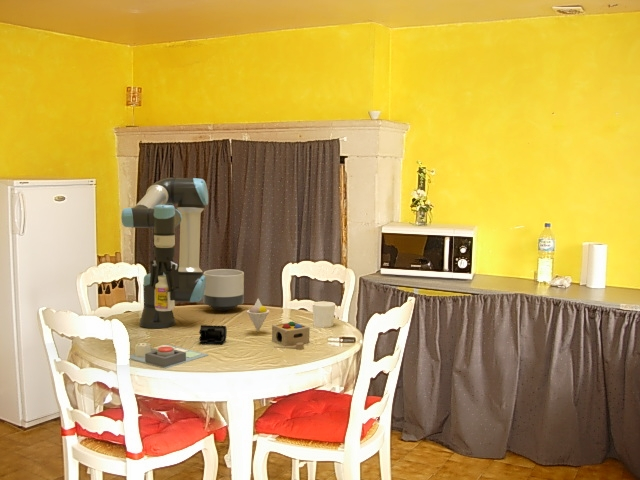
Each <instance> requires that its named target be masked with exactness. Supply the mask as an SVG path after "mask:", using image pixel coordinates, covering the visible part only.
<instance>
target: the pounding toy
mask: <svg viewBox="0 0 640 480" xmlns="http://www.w3.org/2000/svg"><path fill="white" fill-rule="evenodd" d="M310 329H311V328H310V326H307V325H305V324H302V323H299V322H296V321H288V322H284V323H275V324H272V325H271V342H272V343H273V342H274V343H276V344H278V345H279V346H274V347H273V348H274V349H290V350H291V349H292V350H293V349H296V350H304V349H305V345H306V344H310V334H311V333H310Z"/></svg>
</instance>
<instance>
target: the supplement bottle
mask: <svg viewBox="0 0 640 480" xmlns="http://www.w3.org/2000/svg"><path fill="white" fill-rule="evenodd" d="M158 280H159V282H158V283H156V285H155V309H156V310H157V311H171V310H172V311H174V308H173V309H168V291H169V288H168V283H167V279H166V275H160V276H158Z"/></svg>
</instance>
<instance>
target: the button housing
mask: <svg viewBox="0 0 640 480" xmlns="http://www.w3.org/2000/svg"><path fill="white" fill-rule="evenodd" d="M183 361H186V352H182V351H178V350H174V354H173V355H170V356H167V357H163V356H159V355H157V350H156V351H153V352H149V353H145V362H148V363H152V364H155V365H159V366H162V367H167V366H170V365H173V364H177V363H180V362H183ZM162 367H161V368H162Z"/></svg>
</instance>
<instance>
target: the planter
mask: <svg viewBox="0 0 640 480" xmlns="http://www.w3.org/2000/svg"><path fill="white" fill-rule="evenodd" d="M202 275H204V276H206V288H205V293H204V296H203V298H202V300H203V301H202V303H203V304H204V305H207V306H208V307H210V308H212V309H214V310H217V311H229V310H233V309H235V308H237V307H238V306H240V305H243V304H244V302H245V300H244V298H245V297H244V295H245V294H244V292H245V287H244V284H245V283H244V282H245V272H244V271H242V270H238V269H230V268H228V269H227V268H220V269H219V268H218V269H217V268H216V269H208V270H204V272H203V273H202Z"/></svg>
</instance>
